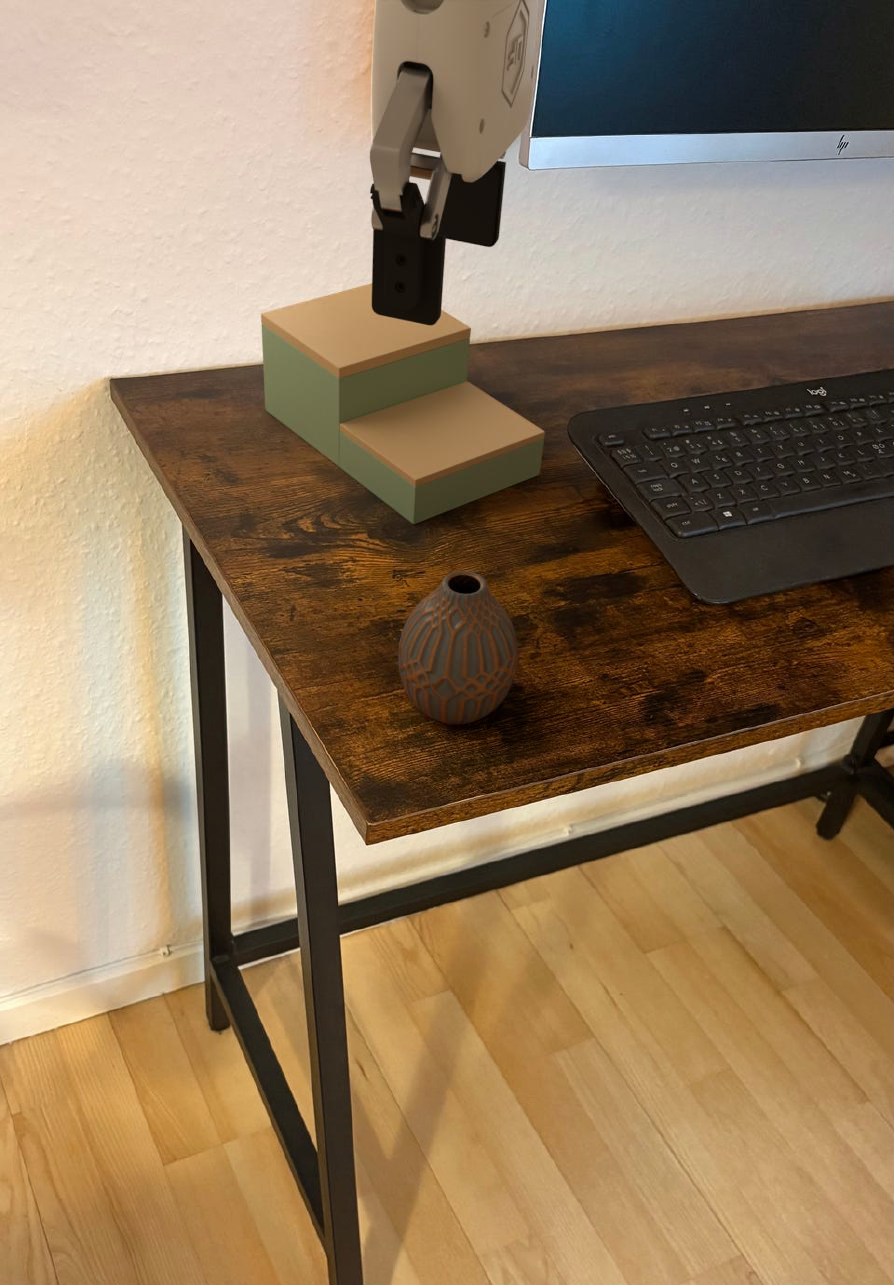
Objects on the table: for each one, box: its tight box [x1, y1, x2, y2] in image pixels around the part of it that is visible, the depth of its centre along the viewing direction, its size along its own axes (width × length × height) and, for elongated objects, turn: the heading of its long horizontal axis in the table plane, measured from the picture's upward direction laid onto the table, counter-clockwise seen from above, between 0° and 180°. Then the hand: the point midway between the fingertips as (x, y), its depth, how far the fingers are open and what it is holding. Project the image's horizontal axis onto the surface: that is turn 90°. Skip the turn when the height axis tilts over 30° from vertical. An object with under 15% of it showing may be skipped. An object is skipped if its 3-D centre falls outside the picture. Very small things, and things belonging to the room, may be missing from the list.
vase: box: [397, 570, 519, 725], centre depth 71 cm, size 7×7×9 cm
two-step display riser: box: [260, 282, 546, 525], centre depth 91 cm, size 19×12×8 cm, turn 39°
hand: (438, 277), depth 60 cm, fingers open, 9 cm apart
